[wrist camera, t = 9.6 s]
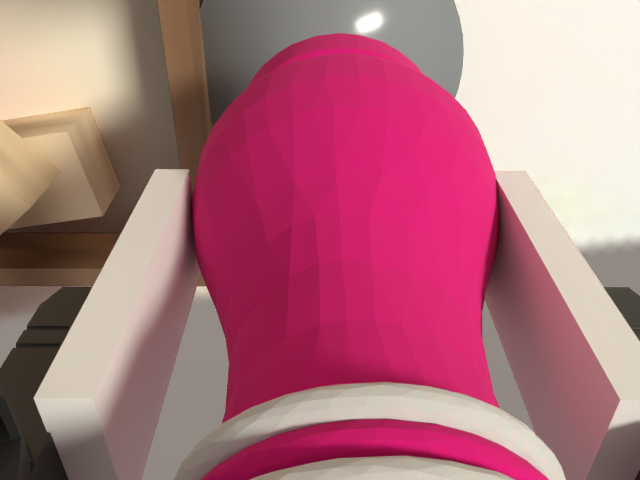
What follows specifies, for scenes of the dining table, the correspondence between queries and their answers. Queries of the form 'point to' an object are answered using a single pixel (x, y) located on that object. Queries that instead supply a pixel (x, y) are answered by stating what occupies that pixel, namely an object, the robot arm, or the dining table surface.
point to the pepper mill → (352, 277)
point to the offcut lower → (68, 167)
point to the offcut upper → (20, 176)
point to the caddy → (192, 133)
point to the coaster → (321, 19)
